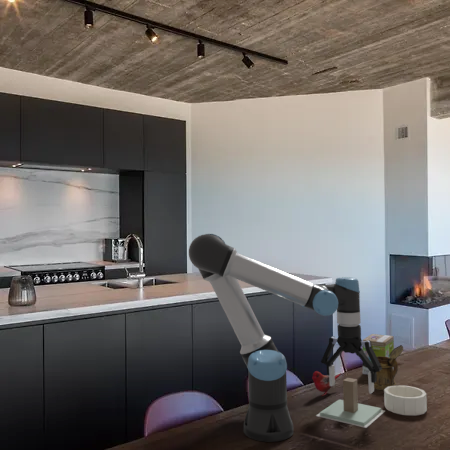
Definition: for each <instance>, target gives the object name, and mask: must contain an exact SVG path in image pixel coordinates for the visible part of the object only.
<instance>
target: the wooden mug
mask: <svg viewBox="0 0 450 450" xmlns="http://www.w3.org/2000/svg"><path fill="white" fill-rule="evenodd" d="M403 351H404V346H403V345H402V344H400V345H398V346H397V347H394V350H393V351H392V352H391V353H390V355H389V356H390V358H389V357H385V356H378V357H377V359H378V361H379V363H380V365H381V367H382V370H380V371H379V372H376V379H377V380H376V382H375V383H374V390H378V391H384V389H385V388H387V387H389V386H395V385H397V383H396V380H395V378H396V375H397V374H398V370H399V366H398V361H397V358H398V357H399V356H400V355H402V353H403ZM393 368H394V369H393Z"/></svg>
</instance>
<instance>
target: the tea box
mask: <svg viewBox="0 0 450 450" xmlns="http://www.w3.org/2000/svg"><path fill="white" fill-rule="evenodd" d="M394 339H395V337H394V336H393V335H385V334H376V333H371V334H369V335H368V336H366V337H365V338H363V339H362V341H368V340H370V341H371V345H372V349H373V351H374V353H375V355H376V357H378V356H385V357H389V358H390V356H389V355H390V353H391V352H392V351H393V350H394V349H395V347H394V345H395V340H394ZM362 350H363V351H364V353H365V355H366V356H367V357H368V358H369V360H370V357H369V355H368V353H367V351H366V349H365V348H364V346H363V345H362ZM370 361H371V360H370ZM393 370H394V368H393ZM369 372H370V371H369V369H368V368H367V367H366V365H365V364H364V363H363V362H362V375H365V376H366V375H367V376H368V373H369Z"/></svg>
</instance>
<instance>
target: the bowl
mask: <svg viewBox="0 0 450 450" xmlns="http://www.w3.org/2000/svg"><path fill="white" fill-rule="evenodd" d="M383 393H384V394H383V396H384V397H383V401H384V402H383V403H384V405H383V406H384V407H385V409H386V410H387V411H389V412H392V413H394V414H397V415H401V416H415V417H416V416H420V415H424V414H426V412H427V411H428V408H427V407H428V405H427V404H428V401H427V392H426V391H425V390H424V389H422V388H418V387H415V386H409V385H399V384H398V385H397V384H396V385H395V386H389V387H387V388H385V389H384V390H383Z"/></svg>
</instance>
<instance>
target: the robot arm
mask: <svg viewBox="0 0 450 450" xmlns="http://www.w3.org/2000/svg"><path fill="white" fill-rule="evenodd" d="M188 258H189V260H190V262H191V264H192V266H194V267H195V268H197V269H198V271H199V273H200V275H201V277H202V279H203V280H204V281H206V282H209V283H210V285H211V287H212V289H213V292H215V293H214V294H215V295H216V297H217V299H218V302H219V303H220V305H221V308H222V309H223V311H224V313H225V316H226V317H227V319H228V322H229V323H230V325H231V328H232V329H233V331H234V334H235V336H236V337H237V341H239V343H240V345H241V348H240V351H239V353H240V356H241V357H242V360H243V362H244V364H245V365H246V368H247V372H248V377H247V378H248V408H247V411H246V415H245V418H244V420H243V421H244V422H243V433H244V436H246V437H248V438H249V439H251V440H253V441H259V442H267V443H270V442H271V443H275V442H280V441H285V440H287V439H289V438H291V437H292V436H293V434H294V423H293V420H292V418H291V414H290V411H289V408H288V395H287V394H288V393H287V391H288V390H287V389H288V388H287V386H288V385H287V384H288V383H287V382H288V381H287V370H288V363H287V360H286V357H285V355H284V354H283V353H282V352H280V351H279V350H278V348H277V347H276V345H275V343H274V341H273V338H272V336H270V335H267V334H265V333H264V331H263V329H262V326H261V324H260V323H259V321H258V318H257V317H256V315H255V313H254V311H253V309H252V306H251V304H250V302H249V300H248V299H247V296H246V294H245V293H244V290H243V288H242V287H241V284H240V283H239V281H241V282H243V283H245V284H249V285H251V286H253V287H255V288H258V289H260V290H263V291H265V292H267V293H268V292H269V293H270V294H273V295H275V296H278V297H280V298H283V299H285V300H286V301H287V300H288V301H289V302H293V303H294V304H298V305H300V306H301V307H302V308H307V309H310V310H311V311H313V312H316V313H317V314H318V315H320V316H324V317H328V316H332V315H333V314H335V313H336V323H337V337H336V336H331V337H329V338H328V343H327V344H328V345H327V347H326V349H325V351H324V353H323V356H322V358H321V361H320V362H321V364H324V365H325V366H326V376H329V381H330V386H332V387H333V386H335V385H336V380H335V376H336V370H335V364H333V363H334V362H335V361H336V360H337V359H338V357H339V356H340V355H341V354H342V353H343V352H344V353H347V354H348V353H349V354H355V355H356V356H357V357H359V359H360V360H361V361H362V364H363V363H364V364H365V365H366V367H367V368H368V369H369V371H370V372H369V373H368V375H367V377H368V379H367V380H368V383H367V384H368V393H369V394H372V393H373V392H375V389H374V383H375V382H376V380H377V379H376V372H379V371H380V370H382V367H381V365H380V363H379V361H378V359H377V357H376V355H375V353H374V351H373V349H372V345H371V341H370V340H368V341H363V339H362V328H361V327H362V326H361V325H360V324H361V309H360V308H361V305H360V304H361V303H360V302H361V299H360V298H361V296H360V291H361V290H360V283H359V280H358V279H357V278H356V277H350V276H348V277H347V276H345V277H344V276H342V277H337V278H335V282H334V283H332V284H314V283H312V282H309V281H307V280H305V279H302V278H300V277H298V276H295V275H292V274H289V273H287V272H285V271H284V270H283V271H282V270H280V269H277V268H276V267H273V266H271V265H267V264H265V263H263V262H261V261H259V260H256V259H253V258H251V257H249V256H246V255H244V254H241V253H239V252H238V251H237V249H236V248H235V247H233V246H230V245H228V244H227V243H226V242H225V241H224V240H223V238H222V237H220V236H218V235H217V234H214V233H205V234H200V235H198V236H197V237H195V238H194V239H193V240H192V241H191V243H190V245H189V248H188ZM335 344H338V348H337V349H336V351H335V352H334V353H333V355H332V356H331V354H332V352H333V349H334V347H335ZM363 346H364V348H365V349H366V351H367V353H368V355H369V357H370V360H371V361H370V360H369V358H368V357H367V356H366V355H365V353H364V351H363ZM330 356H331V357H330Z"/></svg>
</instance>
